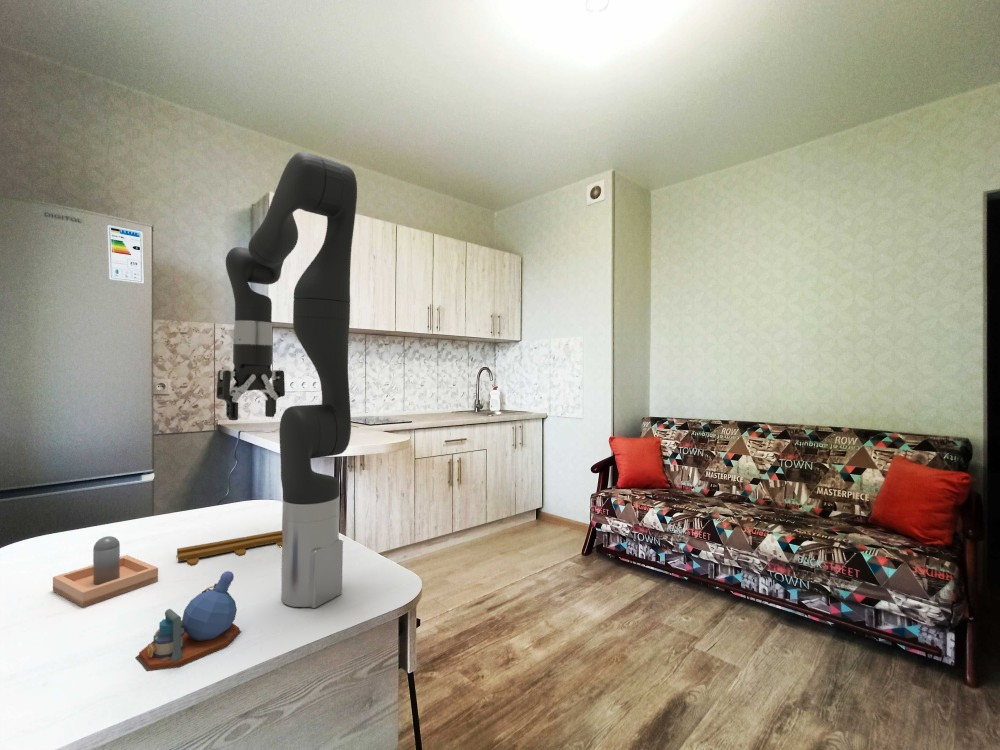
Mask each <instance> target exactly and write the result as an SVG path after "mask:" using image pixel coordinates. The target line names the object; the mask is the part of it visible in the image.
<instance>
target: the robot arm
mask: <svg viewBox="0 0 1000 750" xmlns="http://www.w3.org/2000/svg"><path fill="white" fill-rule="evenodd" d="M273 194H274V195H273V196H272V198H271V202H270V204H269V207H268V210H267V213H266V215H265V217H264V219H263V221H262V222H261V224H260V225H259V227H258V228H257V230H255V232H254V233H253V235H252V236H251V238H250V239H249V241H248V248H247V247H241V246H235V247H233V248H231V249H230V250H229V251H228V252H227V254H226V257H225V267H226V273H227V276H228V278H229V281H230V285H231V289H232V293H233V297H234V299H233V300H234V326H233V327H234V328H233V333H232V334H233V336H232V337H233V338H232V341H233V343H232V345H233V346H232V347H233V348H232V363H233V366H234V367H233V370H229V369H228V370H226V369H219V370H218V372H217V381H216V383H217V384H216V396H215V397H216V399H218V400H221V401H225V404H226V405H225V407H226V408H225V409H226V410H225V414H226V415H225V416H226V418H227V419H228V420H229V421H238V420H239V402H238V401H239V399H240V398H241V397H242V396H243V394H245V393H246V392H247V391H250V392H251V391H259V392H260V393H262V394H263V395H264V396H265V398H266V400H264V401H265V405H264V408H265V411H264V415H265V417H268V418H273V417H275V415H276V413H277V400H278V399H279V398H281V397H285V396H286V389H285V387H286V385H285V384H286V383H285V371H284V370H280V369H274V370H272V368H271V366H272V365H273V345H274V344H273V343H274V342H273V340H274V337H273V335H274V334H273V327H272V326H273V325H272V320H273V319H272V317H273V316H272V314H273V313H272V310H273V308H272V307H273V302H272V299H271V297H269V296H268V295H265V294H261V293H259V292H256V291H254V290H253V289H252V287H251V286H250V284H249V283H253V284H259V285H272V284H275V283H277V282H279V279H280V278H281V276H282V275H281V274H282V268H283V265H284V262H285V259H287V257H289V255H290V254H291V253H292V252H293V250H294V249H295V248H296V246H297V244H298V240H299V230H298V226H297V222H296V219H295V216H294V213H295V211H297V210H302V211H304V212H307V213H311V214H316V215H319V216H323V217H326V219H327V220H326V221H327V223H326V231H325V237H324V241H323V243H322V245H321V247H320V249H319V251H318V253H317V254H316V256H315V257H314V258H313V260H312V261H311V262H310V263H309V265H308V266H307V267H306V268H305V270H304V271H303V273H302V274H301V275H300V277H299V279H298V280H297V282H296V285H295V287H294V290H293V303H292V304H293V306H292V307H293V309H292V311H293V312H292V314H293V316H292V323H293V324H292V325H293V329H294V333H295V336H296V337H297V339H298V341H299V343H300V345H301V347H302V348H303V350H304V352H305V353H306V355H307V356H308V358H309V360H310V362H311V363H312V365H313V366H314V368H315V370H316V372H317V374H318V378H319V381H320V388H321V400H322V401H321V404H307V405H306V404H301V405H293V406H289V407H287V408H285V410H284V411H283V413H282V415H281V418H280V422H279V433H278V435H279V454H280V455H279V456H280V480H281V487H282V519H281V523H282V525H281V530H282V548H281V589H280V590H281V592H280V593H281V595H280V597H281V602H282V603H283V604H285V605H287V606H290V607H293V608H294V607H295V608H306V607H307V608H312V609H316V608H318V607H320V606H321V605H323V604H325V603H327V602H329V601H330V600H333V599H334V598H336V597H338V596H340V595H342V594H343V557H344V556H343V554H344V553H343V552H344V551H343V549H344V541H343V540H342V539H340V538H339V537H340V535H339V533H340V532H339V531H340V493H341V492H340V491H341V490H340V489H341V485H340V484H341V483H340V480H339V479H338V478H337V477H335V476H332V475H329V474H325V473H318V472H316V471H314V470H313V469H312V462H311V459H316V458H326V457H333V456H337V455H341V454H343V453H344V452H346V450H347V448H348V446H349V444H350V441H351V436H352V434H351V433H352V417H351V415H352V414H351V402H350V401H351V398H350V384H349V337H350V335H349V334H350V321H351V320H350V319H351V264H352V263H351V261H352V246H353V239H354V238H353V237H354V231H355V221H356V212H357V204H358V203H357V200H358V182H357V177H356V174H355V172H354V170H353V169H352V168H351V167H349V166H347V165H345V164H342V163H340V162H337V161H334V160H331V159H328V158H325V157H322V156H319V155H317V154H313V153H311V152H304V151H299V152H297V153H295V154H294V155H293V156H291V158H290V159H289V161H288V162H287V163H286V165H285V168H284V169H283V171H282V174H281V176H280V179H279V181H278V183H277V187H276V189H275V191H274V193H273ZM271 379H272V383H271V382H270V380H271ZM232 380H234V383H233V384H232V385H231V381H232Z"/></svg>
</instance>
